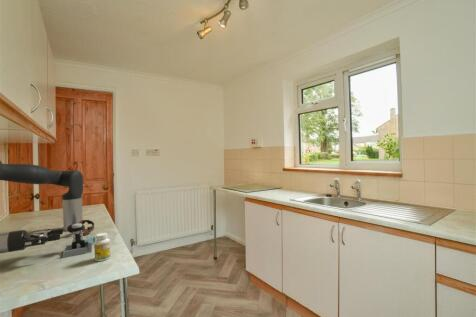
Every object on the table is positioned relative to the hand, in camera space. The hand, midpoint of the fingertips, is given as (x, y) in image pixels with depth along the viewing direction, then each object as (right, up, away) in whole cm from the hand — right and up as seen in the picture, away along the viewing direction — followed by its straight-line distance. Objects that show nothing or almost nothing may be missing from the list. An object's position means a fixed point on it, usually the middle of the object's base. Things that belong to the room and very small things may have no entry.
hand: (61, 233), depth 100 cm
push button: (+3, -8, +5) cm, 9 cm away
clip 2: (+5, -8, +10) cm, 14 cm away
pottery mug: (-9, -9, +27) cm, 30 cm away
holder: (+5, -8, +3) cm, 10 cm away
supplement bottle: (+20, -8, -5) cm, 23 cm away
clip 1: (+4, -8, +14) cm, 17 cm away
